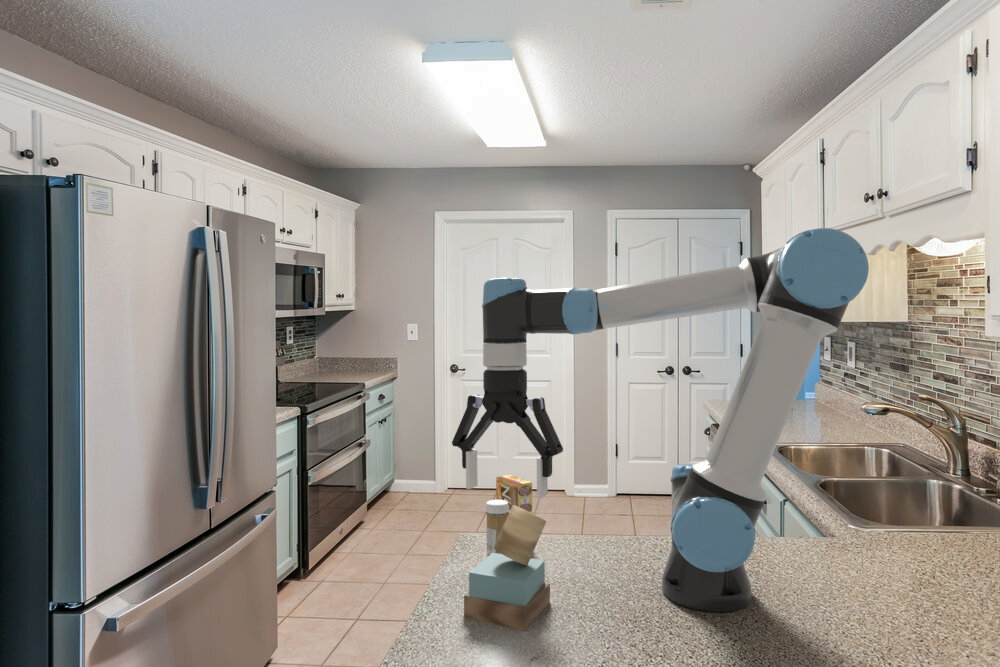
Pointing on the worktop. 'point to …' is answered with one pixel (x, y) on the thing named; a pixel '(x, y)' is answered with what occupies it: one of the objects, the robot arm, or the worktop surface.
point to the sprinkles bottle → (495, 522)
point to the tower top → (506, 579)
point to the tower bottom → (507, 610)
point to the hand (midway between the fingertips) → (506, 491)
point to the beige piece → (519, 535)
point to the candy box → (514, 492)
